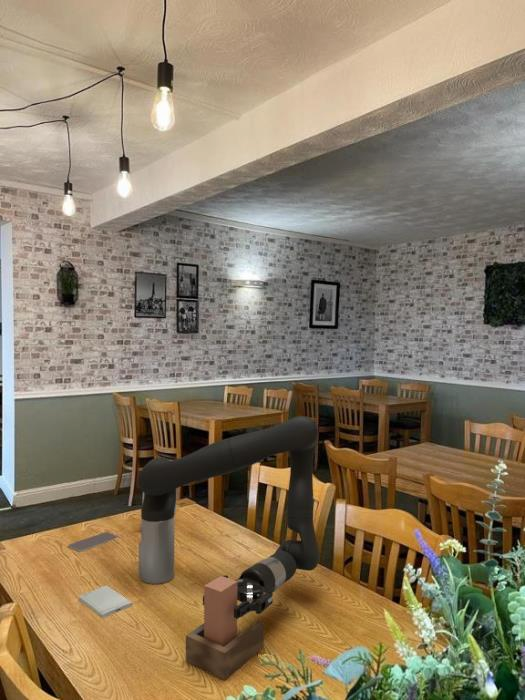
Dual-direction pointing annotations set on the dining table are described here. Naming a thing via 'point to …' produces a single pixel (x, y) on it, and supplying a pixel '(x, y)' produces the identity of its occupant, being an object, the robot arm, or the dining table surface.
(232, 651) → the book slot
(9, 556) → the dining table surface
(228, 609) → the reddish pink rectangular block
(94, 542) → the smartphone
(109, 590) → the hard drive
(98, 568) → the dining table surface
